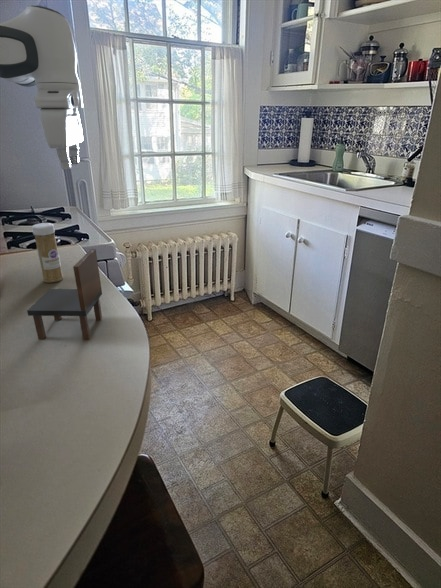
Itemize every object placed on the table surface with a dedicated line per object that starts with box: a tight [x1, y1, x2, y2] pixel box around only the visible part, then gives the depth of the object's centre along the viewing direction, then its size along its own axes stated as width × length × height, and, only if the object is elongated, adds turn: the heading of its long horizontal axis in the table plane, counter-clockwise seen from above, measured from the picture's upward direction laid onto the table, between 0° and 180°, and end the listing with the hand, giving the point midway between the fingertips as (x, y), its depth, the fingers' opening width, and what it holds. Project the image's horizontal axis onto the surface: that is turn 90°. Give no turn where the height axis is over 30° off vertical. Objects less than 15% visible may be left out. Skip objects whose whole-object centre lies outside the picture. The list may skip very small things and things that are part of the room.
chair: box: [26, 248, 103, 341], centre depth 70 cm, size 10×9×14 cm
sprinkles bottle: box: [31, 222, 64, 284], centre depth 91 cm, size 5×5×14 cm
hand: (71, 166), depth 90 cm, fingers open, 8 cm apart
